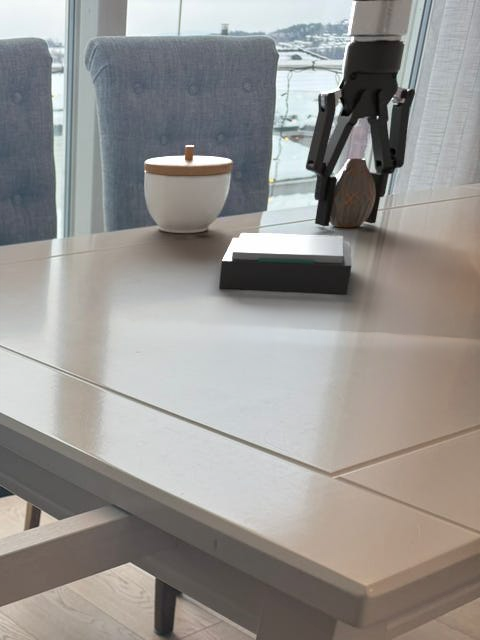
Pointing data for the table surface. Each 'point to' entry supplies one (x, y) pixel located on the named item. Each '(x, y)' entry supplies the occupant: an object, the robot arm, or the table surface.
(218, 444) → the table surface
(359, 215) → the vase
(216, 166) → the lidded bowl
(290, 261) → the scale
